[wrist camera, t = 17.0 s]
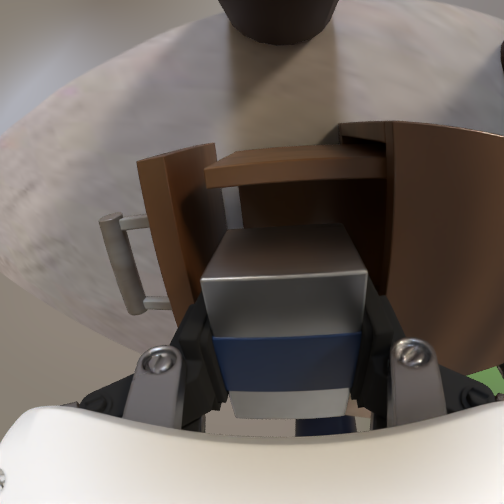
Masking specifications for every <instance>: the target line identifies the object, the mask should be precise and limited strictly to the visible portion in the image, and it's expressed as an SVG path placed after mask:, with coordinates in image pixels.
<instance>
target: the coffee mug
mask: <svg viewBox="0 0 504 504" xmlns="http://www.w3.org/2000/svg"><path fill="white" fill-rule="evenodd" d="M501 62H502V67H503V70H504V41H503V43H502V46H501Z"/></svg>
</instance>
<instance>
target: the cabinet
mask: <svg viewBox="0 0 504 504" xmlns="http://www.w3.org/2000/svg"><path fill="white" fill-rule="evenodd" d="M338 129H339V142H340V144H386V156H387V202H386V226H385V242H384V254H383V265H382V274H381V283H380V290H379V296H383V295H385V296H386V297H387V298H388V300H389V302H390V304H391V306H392V308H393V310H394V312H395V314H396V316H397V318H398V321H399V323H400V325H401V327H402V329H403V331H404V334H405V336H406V337H417V338H420V339H423V340H425V341H427V342H428V343H430V344H431V345H432V347H433V348H434V350H435V352H436V356H437V361H438V364H440V365H442V366H444V367H446V368H449V369H451V370H453V371H455V372H458V373H460V374H462V375H465V376H466V375H470V374H473V373H476V372H479V371H483V370H486V369H489V368H492V367H494V366H497V365H500V364H503V363H504V136H502V135H498V134H493V133H488V132H483V131H478V130H472V129H466V128H460V127H453V126H446V125H438V124H429V123H419V122H407V121H366V122H349V123H338Z"/></svg>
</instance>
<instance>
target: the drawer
mask: <svg viewBox="0 0 504 504" xmlns="http://www.w3.org/2000/svg"><path fill="white" fill-rule="evenodd" d="M137 168H138V174H139V179H140V184H141V189H142V194H143V199H144V204H145V209H146V213H147V214H142V215H134V216H127V217H123V215H122V213H113V214H109V215H106V216H104V217H102V218H100V219H99V225H100V228H101V232H102V235H103V239H104V242H105V246H106V249H107V253H108V256H109V259H110V262H111V265H112V268H113V271H114V274H115V277H116V280H117V283H118V286H119V289H120V292H121V294H122V297H123V300H124V303H125V305H126V308H127V310H128V313H129V314H131V315H140V314H142V313H144V312H146V311H147V310H148V309H155V310H172V311H173V314H174V318H175V321H176V324H177V327H179V325H180V323H181V321H182V319H183V317H184V315H185V313H186V311H187V309H188V307H189V306H190V305H191V304H195V303H196V301H197V299H198V297H199V295H200V293H201V290H202V288H201V283H200V278H201V276H202V274H203V273H204V271H205V269H206V267H207V265H208V263H209V262H210V260H211V258H212V256H213V254H214V252H215V251H216V249H217V247H218V245H219V243H220V242H221V240H222V238H223V236H224V234H225V233H226V231H227V226H226V220H225V213H224V206H223V199H222V192H221V188H224V187H234V186H238V187H239V195H240V203H241V211H242V218H243V226H244V229H246V228H261V227H276V226H293V225H311V224H330V223H342V224H343V226H344V227H345V229H346V231H347V233H348V235H349V236H350V238H351V240H352V242H353V244H354V246H355V248H356V249H357V251H358V253H359V255H360V257H361V259H362V261H363V263H364V265H365V267H366V269H367V271H368V275H369V277H370V279H371V281H372V283H373V285H374V287H375V289H376V291H377V293H378V295H379V290H380V283H381V274H382V265H383V254H384V242H385V226H386V202H387V156H386V144H331V145H306V146H289V147H275V148H263V149H253V150H243V151H236V152H234V153H233V154H231V155H229V156H227V157H225V158H223V159H221V160H219V161H217V156H216V149H215V143H208V144H202V145H196V146H192V147H187V148H183V149H179V150H175V151H171V152H168V153H164V154H160V155H157V156H153V157H149V158H146V159H143V160H139V161H137ZM148 227H150V231H151V235H152V239H153V243H154V247H155V251H156V255H157V259H158V263H159V266H160V270H161V274H162V277H163V281H164V284H165V288H166V291H167V295H168V297H166V296H147V297H146V296H145V293H144V290H143V287H142V283H141V280H140V277H139V274H138V271H137V267H136V264H135V260H134V257H133V253H132V250H131V246H130V243H129V239H128V235H127V231H126V230H130V229H139V228H148Z"/></svg>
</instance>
